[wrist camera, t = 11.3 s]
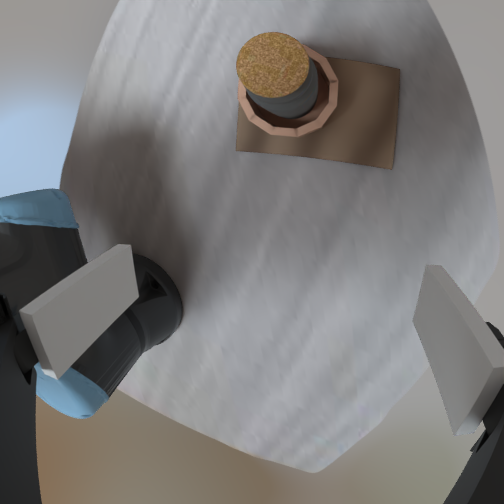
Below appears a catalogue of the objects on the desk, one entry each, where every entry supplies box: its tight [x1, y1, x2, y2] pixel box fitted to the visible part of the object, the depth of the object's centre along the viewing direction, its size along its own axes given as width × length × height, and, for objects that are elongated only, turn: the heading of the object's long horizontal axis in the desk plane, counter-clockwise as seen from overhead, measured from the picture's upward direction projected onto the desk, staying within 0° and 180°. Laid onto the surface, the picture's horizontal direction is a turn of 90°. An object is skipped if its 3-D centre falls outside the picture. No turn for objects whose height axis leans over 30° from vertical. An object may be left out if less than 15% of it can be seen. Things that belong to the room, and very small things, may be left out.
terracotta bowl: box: [238, 44, 338, 137], centre depth 29 cm, size 10×10×5 cm
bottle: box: [236, 32, 318, 119], centre depth 24 cm, size 6×6×15 cm
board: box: [236, 57, 400, 170], centre depth 32 cm, size 18×12×1 cm, turn 86°
